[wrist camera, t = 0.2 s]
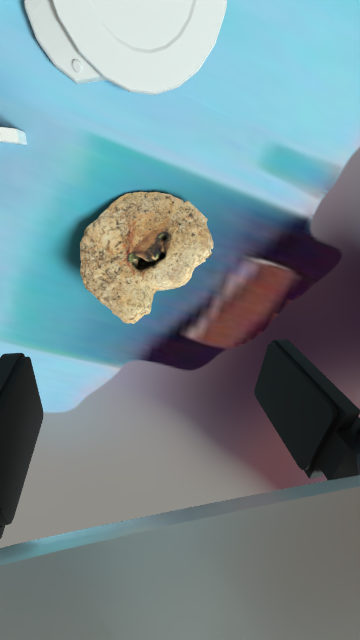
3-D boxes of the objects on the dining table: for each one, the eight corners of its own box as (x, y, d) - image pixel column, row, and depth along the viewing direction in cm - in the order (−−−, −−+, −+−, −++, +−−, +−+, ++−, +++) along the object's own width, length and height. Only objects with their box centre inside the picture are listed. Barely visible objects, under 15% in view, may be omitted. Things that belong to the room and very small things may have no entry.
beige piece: (140, 179, 39) (146, 151, 32) (208, 246, 42) (228, 234, 35) (60, 268, 37) (46, 261, 30) (137, 330, 41) (142, 337, 33)
